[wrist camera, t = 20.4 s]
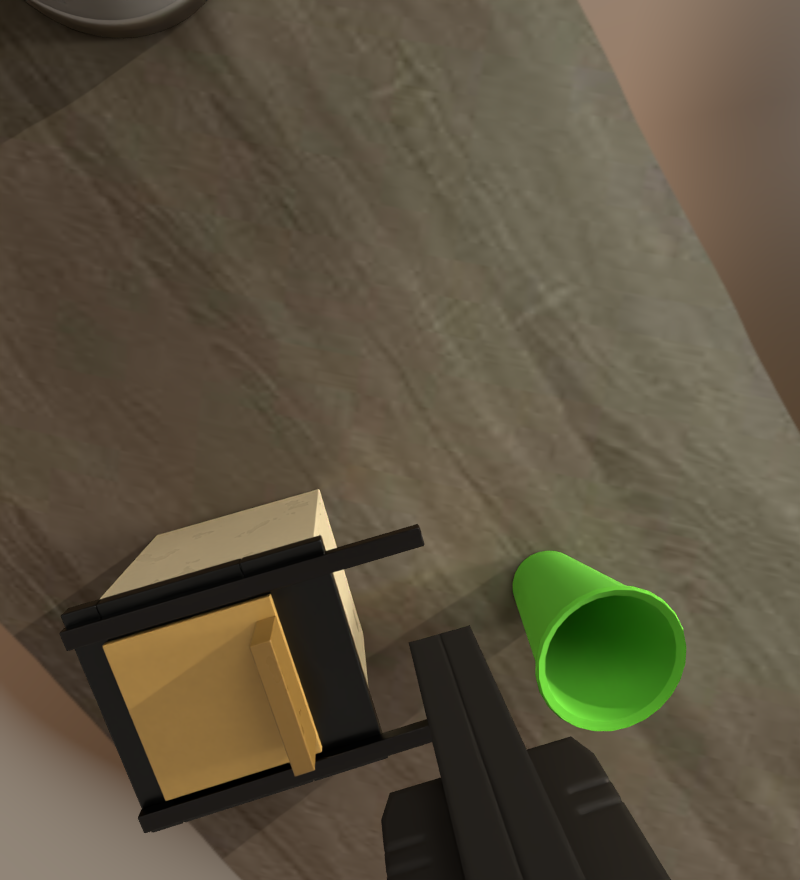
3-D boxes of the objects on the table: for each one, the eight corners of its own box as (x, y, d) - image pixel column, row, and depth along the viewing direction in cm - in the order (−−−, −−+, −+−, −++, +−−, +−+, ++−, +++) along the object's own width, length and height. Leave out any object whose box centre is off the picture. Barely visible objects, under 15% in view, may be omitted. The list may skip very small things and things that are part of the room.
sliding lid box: (144, 529, 39) (53, 621, 26) (390, 459, 40) (416, 516, 28) (204, 689, 42) (148, 843, 29) (434, 619, 43) (477, 738, 30)
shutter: (104, 641, 27) (79, 675, 25) (270, 593, 28) (263, 620, 25) (167, 795, 29) (150, 842, 27) (322, 746, 30) (321, 788, 27)
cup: (474, 627, 43) (520, 724, 33) (502, 515, 42) (559, 576, 31) (583, 643, 45) (663, 740, 34) (614, 534, 43) (706, 599, 32)
